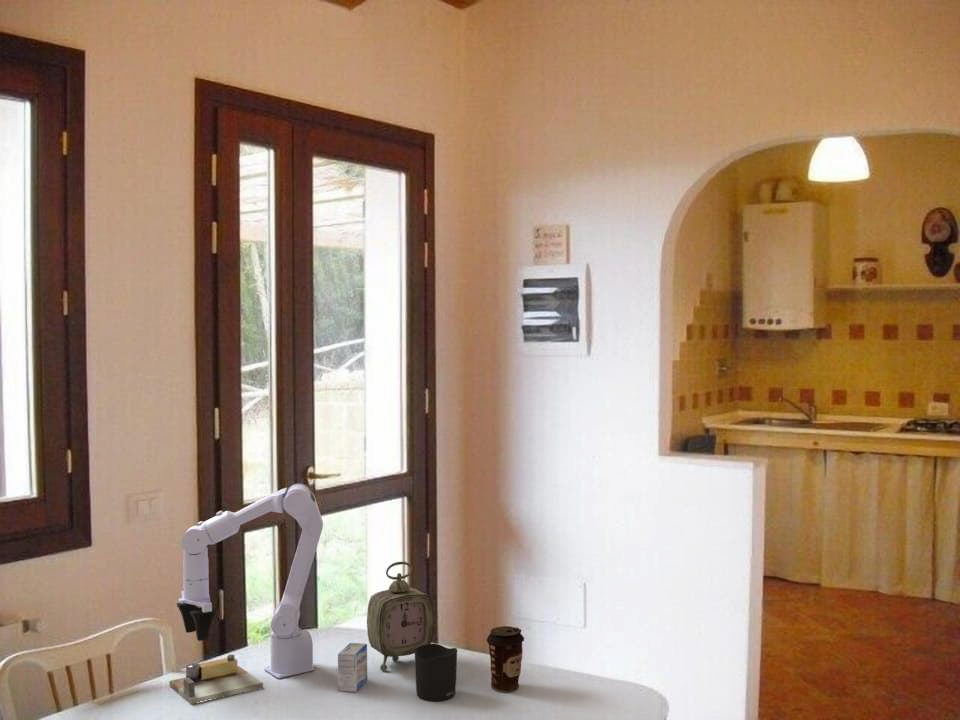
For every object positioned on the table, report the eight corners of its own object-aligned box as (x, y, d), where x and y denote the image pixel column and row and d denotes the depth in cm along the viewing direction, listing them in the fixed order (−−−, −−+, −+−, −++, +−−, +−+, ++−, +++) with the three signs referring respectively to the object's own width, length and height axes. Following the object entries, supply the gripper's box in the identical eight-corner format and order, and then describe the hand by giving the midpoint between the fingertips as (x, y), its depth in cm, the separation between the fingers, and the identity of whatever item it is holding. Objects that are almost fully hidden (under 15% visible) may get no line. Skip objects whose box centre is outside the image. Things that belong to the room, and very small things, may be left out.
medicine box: (356, 692, 212) (356, 654, 212) (337, 691, 213) (337, 653, 212) (367, 680, 220) (367, 643, 219) (349, 679, 220) (349, 642, 220)
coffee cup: (530, 684, 216) (530, 627, 216) (516, 696, 209) (516, 638, 209) (495, 678, 220) (495, 623, 220) (480, 690, 213) (480, 633, 212)
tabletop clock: (379, 675, 223) (378, 569, 222) (364, 663, 231) (363, 561, 230) (434, 664, 230) (433, 561, 230) (417, 653, 238) (417, 554, 237)
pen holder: (419, 704, 205) (419, 658, 204) (411, 689, 214) (410, 645, 213) (461, 700, 207) (461, 654, 207) (451, 685, 216) (451, 641, 216)
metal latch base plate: (238, 670, 226) (238, 653, 226) (263, 688, 215) (262, 669, 215) (169, 686, 216) (169, 667, 216) (191, 704, 205) (191, 685, 205)
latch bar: (188, 682, 213) (188, 666, 213) (184, 679, 216) (184, 663, 216) (237, 672, 220) (237, 656, 220) (232, 668, 222) (232, 653, 222)
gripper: (168, 574, 226) (169, 631, 226) (190, 587, 214) (190, 647, 215) (197, 570, 230) (198, 626, 230) (220, 582, 219) (220, 641, 219)
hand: (196, 635), depth 223 cm, fingers open, 7 cm apart
